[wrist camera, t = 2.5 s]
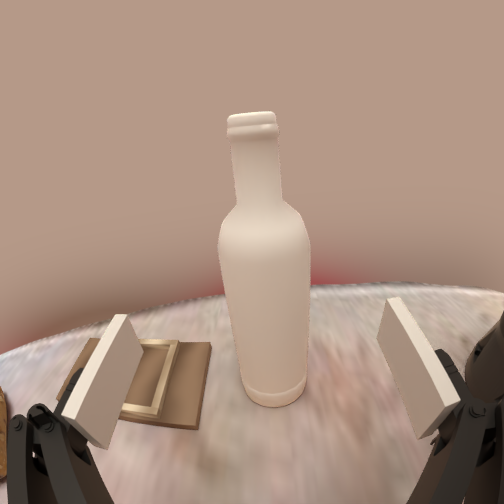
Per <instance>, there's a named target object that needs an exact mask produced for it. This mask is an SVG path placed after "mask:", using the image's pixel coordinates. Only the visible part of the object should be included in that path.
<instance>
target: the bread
mask: <svg viewBox="0 0 504 504" xmlns="http://www.w3.org/2000/svg"><path fill="white" fill-rule="evenodd" d="M6 424H7V414H6V402H5V398H4V394H3V391H2V389H1V386H0V478H3V477H5V476H6V475H7V454H6Z"/></svg>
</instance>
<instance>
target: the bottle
mask: <svg viewBox="0 0 504 504" xmlns="http://www.w3.org/2000/svg"><path fill="white" fill-rule="evenodd" d="M227 123H228V130H227V138H228V140H229V142H230V149H231V157H232V166H233V175H234V183H235V191H236V199H237V204H236V205H235V207H234V208H233V209H232V210H231V211H230V213H229V214H228V215H227V216H226V217H225V219H224V220H223V222H222V225H221V230H220V234H219V240H218V247H217V250H218V255H219V261H220V267H221V272H222V278H223V284H224V289H225V295H226V300H227V305H228V311H229V316H230V321H231V326H232V331H233V336H234V341H235V346H236V351H237V356H238V361H239V365H240V370H241V379H242V382H243V385H244V388H245V391H246V394H247V395H248V396H249V397H250V399H251V400H252V401H253V402H255V403H258V404H260V405H262V406H267V407H280V406H285V405H288V404H290V403H292V402H294V401H295V400H296V399H297V398H298V397H299V396H300V395H301V394H302V393H303V390H304V388H305V384H306V379H307V355H308V337H309V312H310V240H309V236H308V233H307V230H306V227H305V224H304V222H303V220H302V217H301V215H300V214H299V213H298V212H297V211H296V210H295V209H293V208H292V207H291V206H290V205H289V204H288V203H286V202H285V201H284V200H283V199H282V185H281V171H280V158H279V146H278V136H279V127H278V125H277V123H276V115H275V114H274V113H273V112H270V111H269V112H268V111H267V112H252V113H242V114H235V115H231V116H229V118H228V119H227Z"/></svg>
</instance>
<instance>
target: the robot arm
mask: <svg viewBox="0 0 504 504" xmlns="http://www.w3.org/2000/svg"><path fill="white" fill-rule="evenodd" d="M377 341H378V343H379V345H380V347H381V349H382V352H383V354H384V356H385V358H386V361H387V363H388V365H389V368H390V370H391V372H392V375H393V377H394V380H395V382H396V384H397V387H398V389H399V392H400V394H401V397H402V399H403V402H404V405H405V407H406V410H407V412H408V415H409V418H410V421H411V423H412V426H413V429H414V432H415V435H416V437H417V440H419V439H421V438H424V437H427V436H429V435H432V434H433V433H434V432H435V430H436V429H437V428H438V430H439V434H438V435H437V436H436V437H435V438H434V439H433V440H432V442H431V444H430V445H432V444H433V443H434V442H435V441H436V442H435V444H434V447H433V449H432V452H431V454H430V457H429V459H428V461H427V464H426V466H425V468H424V470H423V473H422V475H421V477H420V479H419V481H418V483H417V485H416V487H415V489H414V491H413V493H412V494H411V496H410V498H409V500H408V502H407V504H462V502H463V499H464V497H465V500H464V504H504V311H503V314H502V316H501V318H500V320H499V321H498V322H497V323H496V324H495V325H494V326H493V327H492V328H491V329H490V331H489V332H488V333H487V334H486V335H485V336H484V337H483V338H482V339H481V340H480V341H479V342H478V343H477V344H476V346H475V347H474V349H473V351H472V353H471V354H470V356H469V358H468V360H467V363H466V368H465V378H466V383H465V382H464V380H463V378H462V376H461V375H460V373H459V372H458V369H457V368H456V366H454V363H453V361H452V359H451V358H450V356H449V355H448V354H447V353H446V352H445V351H443V350H442V349H438V350H435V351H434V350H433V349H432V347H431V345H430V344H429V342H428V340H427V339H426V337H425V335H424V334H423V332H422V331H421V329H420V327H419V326H418V324H417V323H416V321H415V320H414V318H413V317H412V315H411V314H410V312H409V310H408V309H407V307H406V306H405V304H404V303H403V302H402V300H401V299H400V297H395V298H389V299H386V303H385V308H384V312H383V316H382V320H381V324H380V328H379V332H378V335H377ZM143 352H144V351H143V349H142V347H141V345H140V342H139V340H138V338H137V336H136V334H135V331H134V329H133V327H132V324H131V322H130V320H129V317H128V315H122V314H116V315H115V316H114V318H113V319H112V321H111V323H110V324H109V326H108V328H107V329H106V331H105V333H104V334H103V336H102V338H101V340H100V341H99V343H98V345H97V347H96V348H95V350H94V352H93V354H92V355H91V357H90V359H89V361H88V363H87V365H86V366H85V368H79V369H78V370H77V371H76V372H75V373H74V374H73V376H72V377H71V379H70V381H69V384H68V385H67V387H66V390H65V391H64V393H63V395H62V397H61V398H60V400H59V402H58V404H57V407H56V409H55V411H54V412H53V413H52V412H51V411H50V410H49V409H48V408H47V407H46V406H45V405H44V404H41V403H39V404H35V405H33V406H32V407H31V408H30V409H29V411H28V413H27V418H26V417H24V416H23V415H21V414H18V415H15V416H14V417H13V418H12V419H11V421H10V424H9V431H8V442H7V494H8V504H114V502H113V500H112V498H111V496H110V494H109V492H108V490H107V488H106V486H105V484H104V482H103V480H102V478H101V476H100V474H99V471H98V469H97V467H96V464H95V462H94V460H93V457H92V455H91V452H90V449H89V448H88V446H87V445H86V444H87V441H89V442H90V443H91V444H93V445H94V446H96V447H99V448H102V449H106V450H108V447H109V444H110V441H111V438H112V435H113V432H114V429H115V426H116V423H117V420H118V418H119V415H120V412H121V409H122V406H123V404H124V401H125V398H126V395H127V393H128V390H129V388H130V385H131V382H132V380H133V377H134V375H135V372H136V369H137V367H138V364H139V362H140V359H141V357H142V355H143ZM466 384H467V385H466ZM33 452H34V453H35V457H33Z"/></svg>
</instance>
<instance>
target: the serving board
mask: <svg viewBox="0 0 504 504" xmlns="http://www.w3.org/2000/svg"><path fill="white" fill-rule="evenodd" d="M100 340H101V339H98V338H90V339H89V340H88V342H87V344H86V345H85V347H84V349H83V350H82V352H81V354H80V355H79V357H78V359H77V361H76V362H75V364H74V366H73V368H72V369H71V371H70V373H69V375H68V377H67V378H66V380H65V382H64V384H63V386H62V388H61V390H60V391H59V393H58V395H57V397H56V399H57V400H58V402H59V400H60V398H61V397H62V395H63V393H64V391H65V390H66V387H67V385H68V384H69V381H70V379H71V377H72V376H73V374H74V373H75V372H76V371H77V370H78V369H79V368H85V366H86V365H87V363H88V361H89V359H90V357H91V355H92V354H93V352H94V350H95V348H96V347H97V345H98V343H99V341H100ZM138 340H139V342H140V345H141V347H142V349H143V351H144V352H143V355H142V357H141V359H140V362H139V364H138V367H137V369H136V372H135V375H134V377H133V380H132V382H131V385H130V388H129V390H128V393H127V395H126V398H125V401H124V404H123V406H122V409H121V412H120V415H119V418H118V419H121V420H126V421H131V422H137V423H142V424H149V425H156V426H163V427H171V428H181V429H192V430H198V426H199V420H200V413H201V407H202V401H203V395H204V389H205V383H206V377H207V371H208V366H209V360H210V354H211V349H212V347H211V344H210V342H179V340H153V339H138Z"/></svg>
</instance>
